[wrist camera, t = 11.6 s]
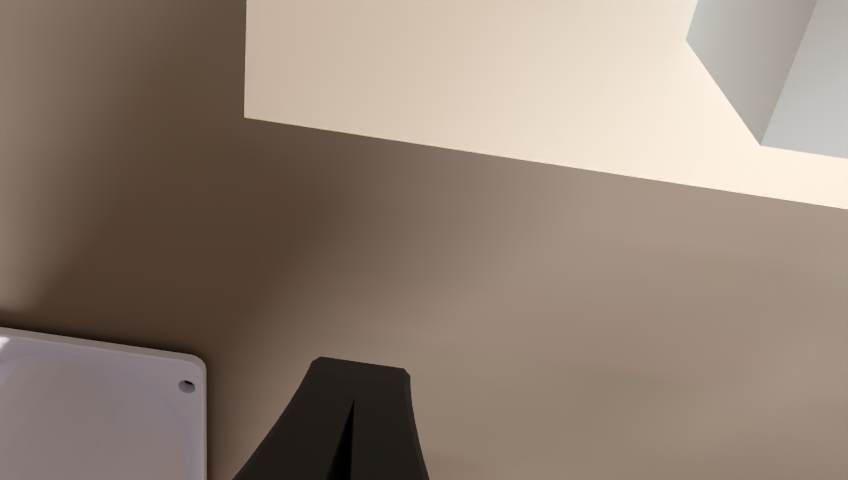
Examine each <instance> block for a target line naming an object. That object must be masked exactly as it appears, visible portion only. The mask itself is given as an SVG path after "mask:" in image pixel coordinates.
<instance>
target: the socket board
mask: <svg viewBox="0 0 848 480" xmlns="http://www.w3.org/2000/svg"><path fill="white" fill-rule="evenodd" d="M697 2H698V0H247V10H246V53H245V96H244V117H245V118H251V119H258V120H264V121H271V122H277V123H284V124H291V125H297V126H304V127H310V128H317V129H324V130H330V131H337V132H343V133H350V134H356V135H363V136H370V137H376V138H383V139H389V140H396V141H403V142H409V143H416V144H422V145H429V146H435V147H442V148H449V149H455V150H462V151H468V152H475V153H482V154H488V155H495V156H501V157H508V158H514V159H521V160H528V161H534V162H541V163H547V164H554V165H561V166H567V167H574V168H580V169H587V170H593V171H600V172H607V173H613V174H620V175H626V176H633V177H640V178H646V179H653V180H659V181H666V182H672V183H679V184H686V185H692V186H699V187H705V188H712V189H719V190H725V191H732V192H738V193H745V194H751V195H758V196H765V197H771V198H778V199H784V200H791V201H798V202H804V203H811V204H817V205H824V206H830V207H837V208H844V209H848V159H845V158H838V157H832V156H825V155H818V154H812V153H805V152H799V151H792V150H785V149H779V148H772V147H766V146H760V145H759V143H758V142H757V140H756V139H755V138H754V136H753V135H752V133H751V132H750V131H749V129H748V128H747V126H746V125H745V124H744V122H743V121H742V119H741V118H740V116H739V115H738V114H737V112H736V111H735V109H734V108H733V107H732V105H731V104H730V102H729V101H728V99H727V98H726V97H725V95H724V94H723V92H722V91H721V90H720V88H719V87H718V85H717V84H716V83H715V81H714V80H713V78H712V77H711V75H710V74H709V73H708V71H707V70H706V68H705V67H704V66H703V64H702V63H701V61H700V60H699V59H698V57H697V56H696V54H695V53H694V51H693V50H692V49H691V47H690V46H689V44H688V43H687V42H686V37H687V34H688V30H689V27H690V24H691V21H692V18H693V15H694V11H695V8H696V5H697Z"/></svg>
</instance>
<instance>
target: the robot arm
mask: <svg viewBox="0 0 848 480" xmlns="http://www.w3.org/2000/svg"><path fill="white" fill-rule="evenodd" d="M185 380H187V381H190V382H192V383H193V384H194V385H190V384H187V383H185V382H184V381H185ZM0 480H207V403H206V366H205V364H204V362H203V361H202V360H201V359H200V358H198V357H197V356H194V355H190V354H184V353H177V352H170V351H163V350H156V349H149V348H142V347H135V346H129V345H122V344H115V343H108V342H101V341H94V340H87V339H80V338H73V337H66V336H59V335H52V334H45V333H38V332H31V331H24V330H18V329H11V328H4V327H0ZM232 480H429V476H428V473H427V469H426V466H425V462H424V459H423V455H422V451H421V447H420V443H419V439H418V434H417V429H416V424H415V419H414V413H413V407H412V400H411V389H410V375H409V374H408V373H407V372H406V370H405V369H403V368H396V367H389V366H382V365H375V364H369V363H362V362H355V361H348V360H341V359H334V358H327V357H319V358H317V359H316V360H314V361H312V363H311V365H310V367H309V369H308V371H307V373H306V375H305V377H304V379H303V381H302V383H301V384H300V386H299V388H298V389H297V391H296V393H295V394H294V396H293V398H292V399H291V401H290V402H289V404H288V405H287V407H286V408H285V410H284V411H283V413H282V414H281V416H280V417H279V419H278V420H277V422H276V423H275V425H274V426H273V427H272V429H271V430H270V431H269V433H268V434H267V436H266V437H265V438H264V440H263V441H262V442H261V444H260V445H259V446H258V448H257V449H256V450H255V452H254V453H253V455H252V456H251V457H250V459H249V460H248V461H247V462H246V464H245V465H244V466H243V467H242V469H241V470H240V471H239V472H238V473H237V475H236V476H235V477H234V478H233V479H232Z"/></svg>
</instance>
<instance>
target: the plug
mask: <svg viewBox="0 0 848 480" xmlns="http://www.w3.org/2000/svg"><path fill="white" fill-rule="evenodd" d="M686 42H687V43H688V44H689V46H690V47H691V49H692V50H693V51H694V53H695V54H696V56H697V57H698V59H699V60H700V61H701V63H702V64H703V66H704V67H705V68H706V70H707V71H708V73H709V74H710V75H711V77H712V78H713V80H714V81H715V83H716V84H717V85H718V87H719V88H720V90H721V91H722V92H723V94H724V95H725V97H726V98H727V99H728V101H729V102H730V104H731V105H732V107H733V108H734V109H735V111H736V112H737V114H738V115H739V116H740V118H741V119H742V121H743V122H744V124H745V125H746V126H747V128H748V129H749V131H750V132H751V133H752V135H753V136H754V138H755V139H756V140H757V142H758V143H759V145H760V146H766V147H772V148H779V149H785V150H792V151H799V152H805V153H812V154H818V155H825V156H832V157H838V158H845V159H848V0H698V2H697V5H696V8H695V11H694V15H693V18H692V21H691V24H690V27H689V30H688V34H687V37H686Z"/></svg>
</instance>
